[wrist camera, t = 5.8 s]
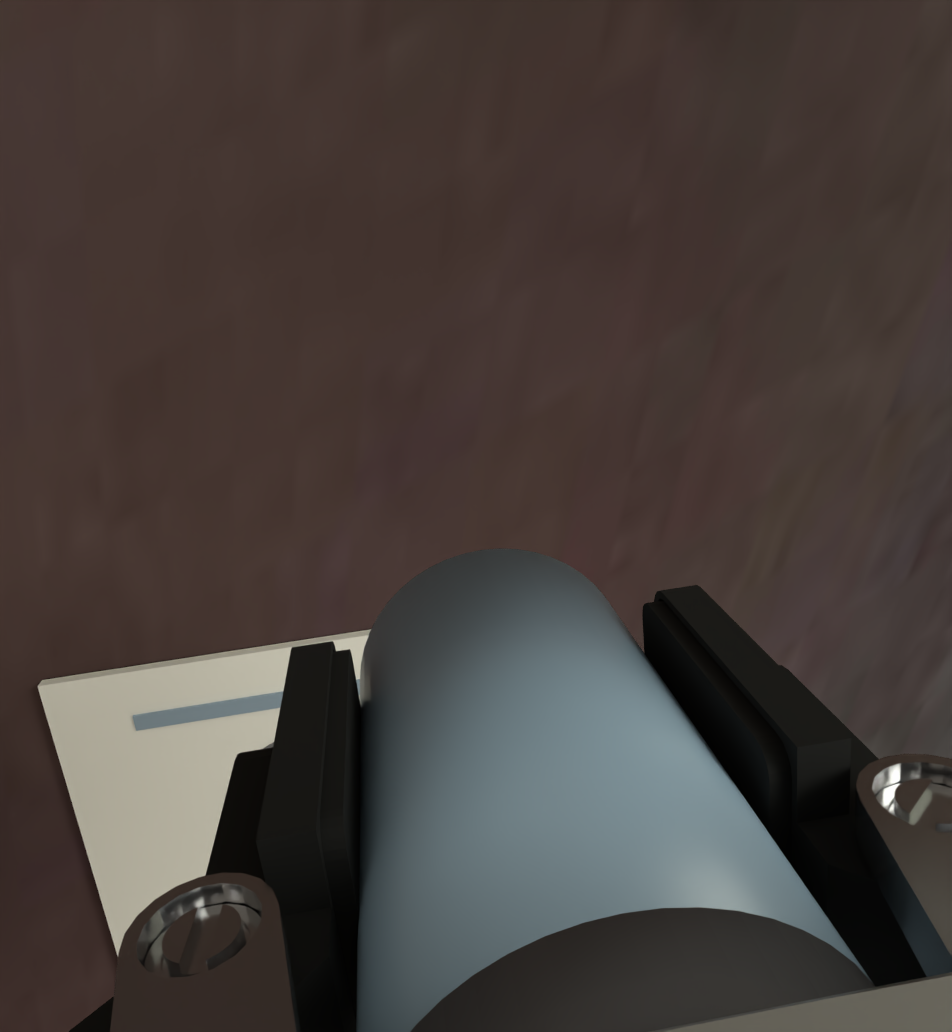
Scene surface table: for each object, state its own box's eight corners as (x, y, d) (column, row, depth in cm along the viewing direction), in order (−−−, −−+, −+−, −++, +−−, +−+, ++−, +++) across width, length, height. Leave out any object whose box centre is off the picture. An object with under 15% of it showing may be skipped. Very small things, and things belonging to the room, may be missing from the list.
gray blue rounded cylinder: (618, 529, 12) (1197, 1166, 4) (633, 767, 14) (1093, 1653, 5) (339, 571, 12) (277, 1371, 3) (381, 811, 13) (411, 1842, 5)
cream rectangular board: (523, 606, 27) (526, 612, 27) (554, 908, 31) (557, 918, 31) (42, 679, 26) (36, 687, 26) (132, 987, 30) (128, 998, 29)
